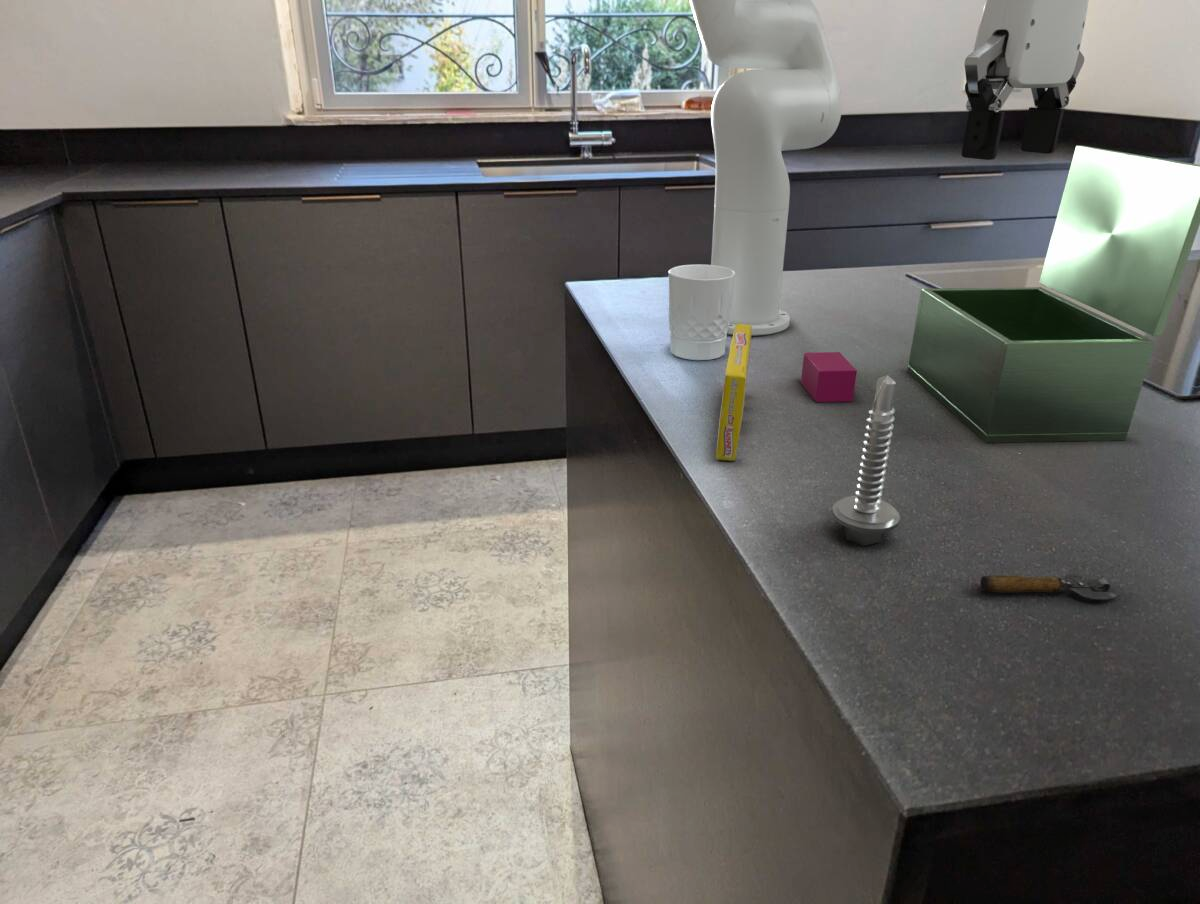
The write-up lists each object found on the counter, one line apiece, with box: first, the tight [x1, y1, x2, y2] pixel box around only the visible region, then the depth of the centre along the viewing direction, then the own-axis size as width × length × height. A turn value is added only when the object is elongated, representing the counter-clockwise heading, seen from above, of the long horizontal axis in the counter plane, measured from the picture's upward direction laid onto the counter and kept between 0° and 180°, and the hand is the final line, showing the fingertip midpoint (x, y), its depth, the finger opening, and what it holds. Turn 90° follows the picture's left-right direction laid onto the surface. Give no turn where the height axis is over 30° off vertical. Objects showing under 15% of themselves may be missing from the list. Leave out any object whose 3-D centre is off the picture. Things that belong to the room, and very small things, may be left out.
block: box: [800, 351, 858, 403], centre depth 89 cm, size 4×6×4 cm, turn 2°
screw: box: [831, 374, 901, 547], centre depth 60 cm, size 13×5×5 cm
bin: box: [906, 286, 1156, 444], centre depth 85 cm, size 14×20×10 cm
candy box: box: [715, 324, 752, 462], centre depth 79 cm, size 16×2×8 cm, turn 168°
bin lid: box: [1038, 145, 1200, 337], centre depth 80 cm, size 14×20×6 cm
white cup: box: [668, 263, 735, 361], centre depth 100 cm, size 8×8×10 cm
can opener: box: [980, 573, 1122, 601], centre depth 56 cm, size 9×2×1 cm, turn 83°
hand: (1008, 155), depth 78 cm, fingers open, 9 cm apart
